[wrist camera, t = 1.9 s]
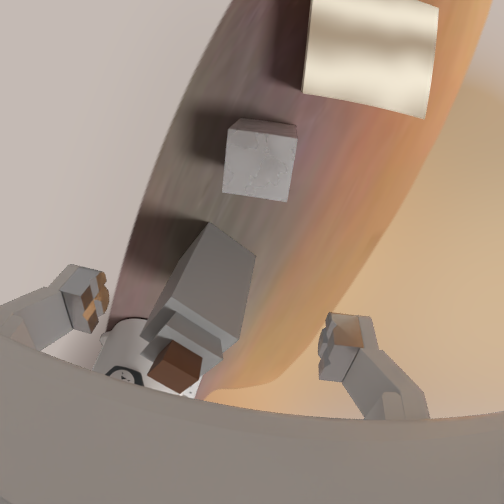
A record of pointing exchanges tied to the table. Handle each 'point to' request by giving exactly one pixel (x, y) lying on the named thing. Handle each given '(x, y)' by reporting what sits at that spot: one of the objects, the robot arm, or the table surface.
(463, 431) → the robot arm
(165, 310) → the perfume bottle
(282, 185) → the grey block
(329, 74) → the cream square dish
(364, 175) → the table surface
